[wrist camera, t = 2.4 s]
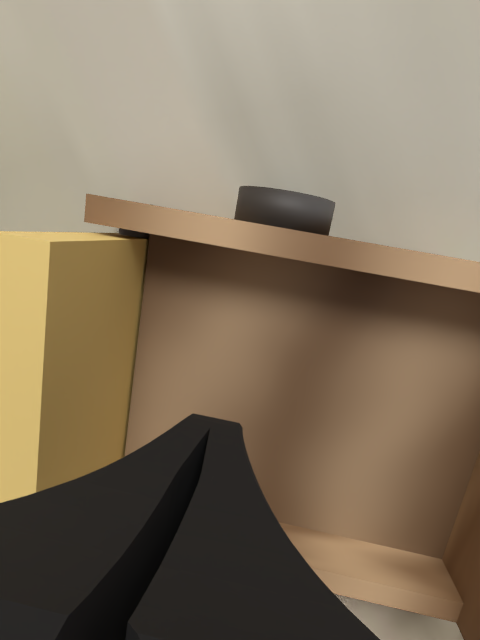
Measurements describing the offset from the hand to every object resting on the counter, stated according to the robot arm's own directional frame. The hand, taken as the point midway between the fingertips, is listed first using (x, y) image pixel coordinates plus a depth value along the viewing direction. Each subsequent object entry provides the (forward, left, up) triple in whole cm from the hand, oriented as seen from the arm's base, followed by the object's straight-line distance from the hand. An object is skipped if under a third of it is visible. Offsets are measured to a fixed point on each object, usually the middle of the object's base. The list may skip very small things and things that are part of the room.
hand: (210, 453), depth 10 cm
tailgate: (+4, 0, -5) cm, 6 cm away
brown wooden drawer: (-3, 0, -5) cm, 6 cm away
